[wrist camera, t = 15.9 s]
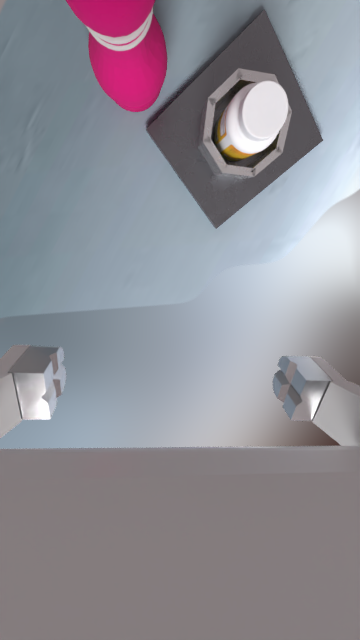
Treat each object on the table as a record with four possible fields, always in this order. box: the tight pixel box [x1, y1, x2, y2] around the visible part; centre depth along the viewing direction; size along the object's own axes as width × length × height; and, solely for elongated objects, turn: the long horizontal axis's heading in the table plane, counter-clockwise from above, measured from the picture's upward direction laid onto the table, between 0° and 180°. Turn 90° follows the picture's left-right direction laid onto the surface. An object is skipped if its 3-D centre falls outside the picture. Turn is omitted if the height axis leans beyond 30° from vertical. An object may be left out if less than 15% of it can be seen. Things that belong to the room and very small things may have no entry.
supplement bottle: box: [214, 80, 288, 161], centre depth 26 cm, size 5×5×10 cm
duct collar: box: [146, 10, 323, 228], centre depth 29 cm, size 16×14×5 cm
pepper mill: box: [66, 0, 167, 112], centre depth 19 cm, size 7×7×20 cm
